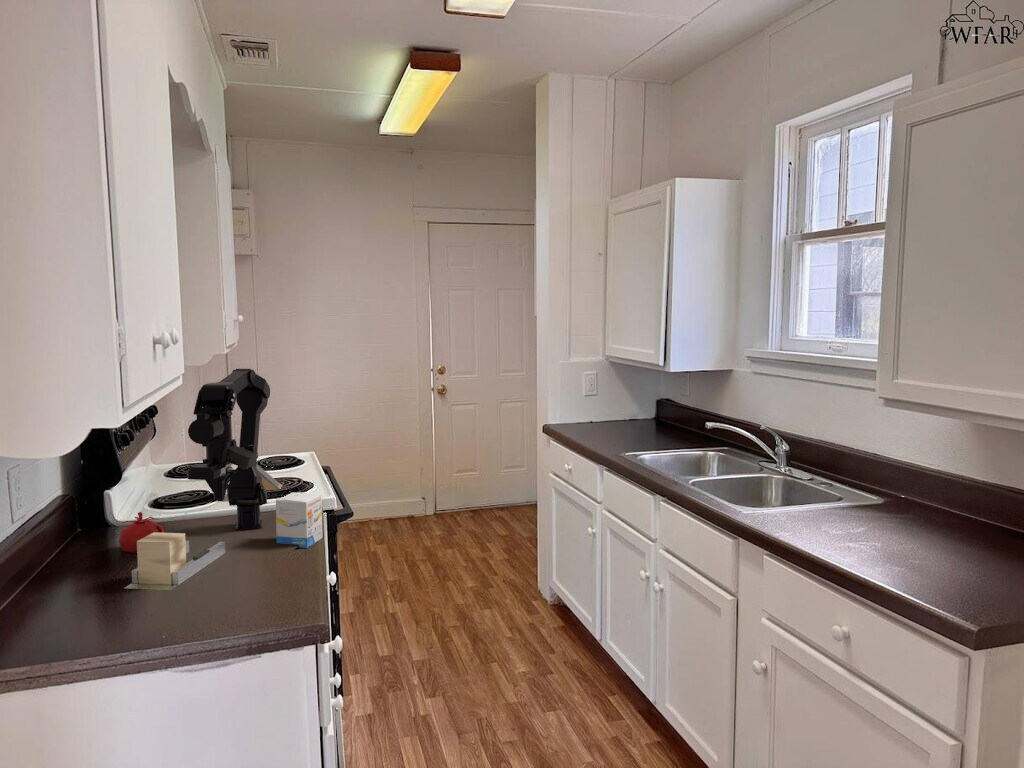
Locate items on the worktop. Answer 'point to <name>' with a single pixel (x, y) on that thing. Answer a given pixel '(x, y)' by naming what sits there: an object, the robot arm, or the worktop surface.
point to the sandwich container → (268, 480)
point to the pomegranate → (137, 532)
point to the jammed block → (160, 557)
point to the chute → (183, 568)
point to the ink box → (299, 519)
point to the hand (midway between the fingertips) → (220, 500)
